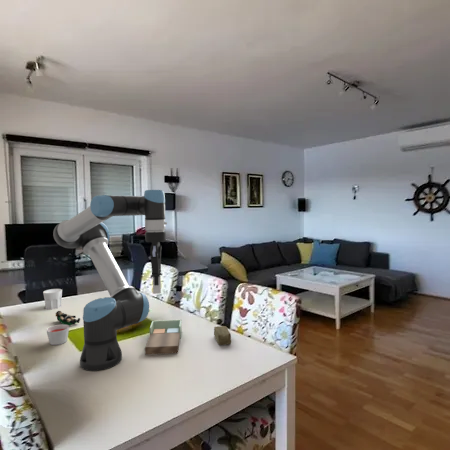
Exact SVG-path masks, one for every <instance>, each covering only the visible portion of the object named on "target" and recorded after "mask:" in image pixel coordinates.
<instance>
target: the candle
mask: <svg viewBox="0 0 450 450" xmlns="http://www.w3.org/2000/svg"><path fill="white" fill-rule="evenodd" d="M69 330H70V326H69V325H64V324H62V323H61V324H56V325H52V326H49V327H47V328H46V329H45V331H46V334H47V339H48V342H49V343H48V344H50V345H51V346H58V345H62V344H64V343H67V341H68V337H69Z"/></svg>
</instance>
